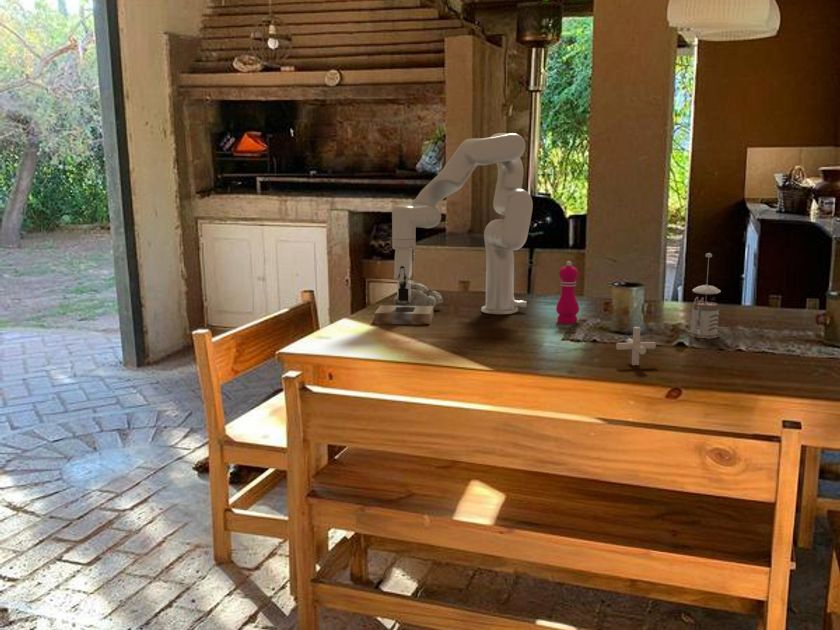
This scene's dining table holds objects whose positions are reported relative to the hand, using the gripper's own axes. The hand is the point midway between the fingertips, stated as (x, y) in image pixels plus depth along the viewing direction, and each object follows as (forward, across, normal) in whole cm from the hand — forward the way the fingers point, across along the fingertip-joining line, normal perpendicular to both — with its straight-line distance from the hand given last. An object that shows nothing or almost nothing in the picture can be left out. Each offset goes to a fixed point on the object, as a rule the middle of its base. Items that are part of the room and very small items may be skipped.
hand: (404, 298), depth 272 cm
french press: (+7, +16, +92) cm, 94 cm away
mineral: (+7, -19, +3) cm, 21 cm away
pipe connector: (+7, +50, +67) cm, 84 cm away
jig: (+7, 0, 0) cm, 7 cm away
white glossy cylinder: (+1, 0, 0) cm, 1 cm away
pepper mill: (+7, 0, +53) cm, 54 cm away
